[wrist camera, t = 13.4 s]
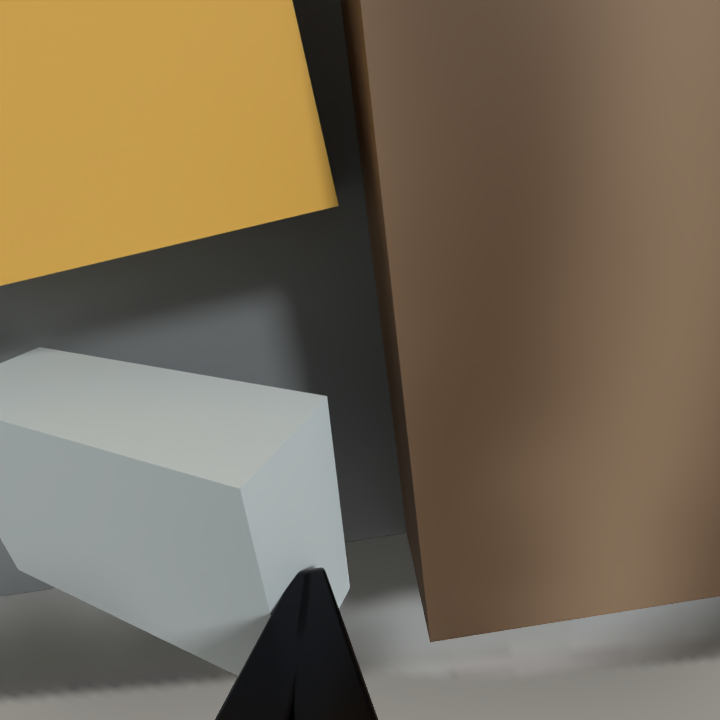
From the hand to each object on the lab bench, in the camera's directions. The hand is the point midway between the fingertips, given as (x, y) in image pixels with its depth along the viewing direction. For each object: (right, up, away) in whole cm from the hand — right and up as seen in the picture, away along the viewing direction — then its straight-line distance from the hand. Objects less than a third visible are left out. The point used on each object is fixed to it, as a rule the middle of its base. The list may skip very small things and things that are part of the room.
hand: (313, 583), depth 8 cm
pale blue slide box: (-3, +2, +3) cm, 4 cm away
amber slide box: (-4, +9, +1) cm, 10 cm away
